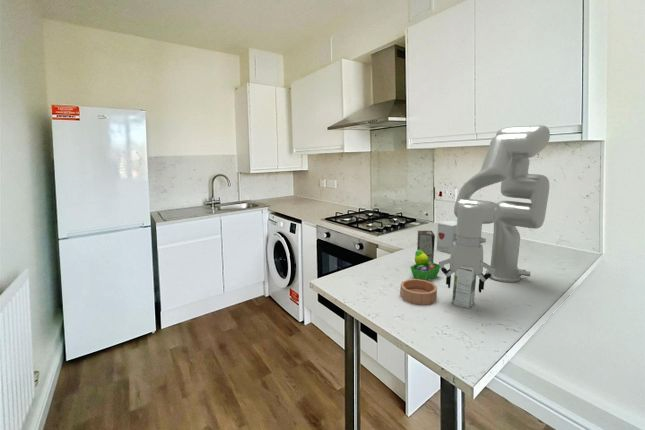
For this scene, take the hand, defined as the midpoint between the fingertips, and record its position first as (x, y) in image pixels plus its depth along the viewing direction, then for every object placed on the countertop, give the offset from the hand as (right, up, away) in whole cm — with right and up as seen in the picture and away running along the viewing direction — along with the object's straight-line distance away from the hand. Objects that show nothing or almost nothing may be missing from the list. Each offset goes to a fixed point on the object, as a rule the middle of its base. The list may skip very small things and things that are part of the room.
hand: (464, 288), depth 108 cm
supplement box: (+18, +6, +58) cm, 61 cm away
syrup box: (0, -6, +1) cm, 6 cm away
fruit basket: (-6, -1, +24) cm, 25 cm away
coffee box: (-2, +1, +35) cm, 35 cm away
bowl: (-14, -4, +7) cm, 16 cm away
